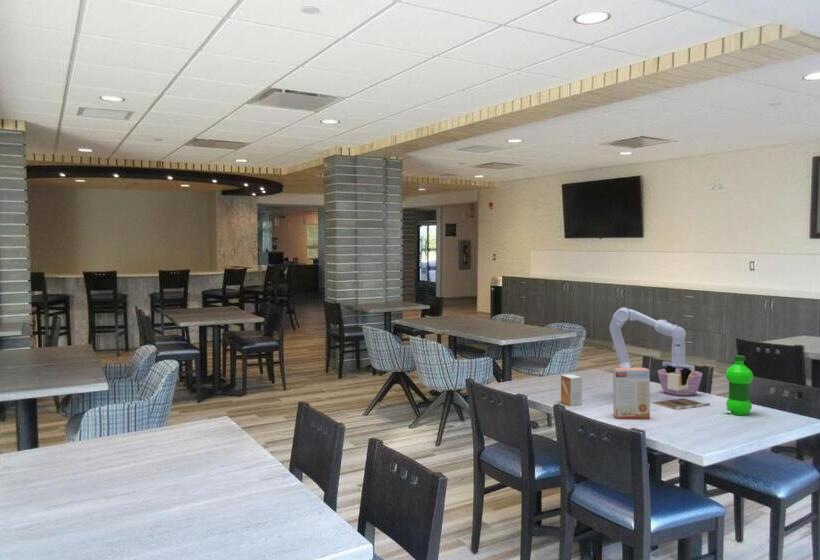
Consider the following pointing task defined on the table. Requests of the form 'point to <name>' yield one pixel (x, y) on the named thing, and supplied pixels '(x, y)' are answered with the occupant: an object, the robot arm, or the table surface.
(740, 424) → the table surface
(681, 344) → the robot arm
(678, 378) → the carton
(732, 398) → the plastic bottle
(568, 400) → the small box
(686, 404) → the shelf board
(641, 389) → the cracker box
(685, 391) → the bowl of food
